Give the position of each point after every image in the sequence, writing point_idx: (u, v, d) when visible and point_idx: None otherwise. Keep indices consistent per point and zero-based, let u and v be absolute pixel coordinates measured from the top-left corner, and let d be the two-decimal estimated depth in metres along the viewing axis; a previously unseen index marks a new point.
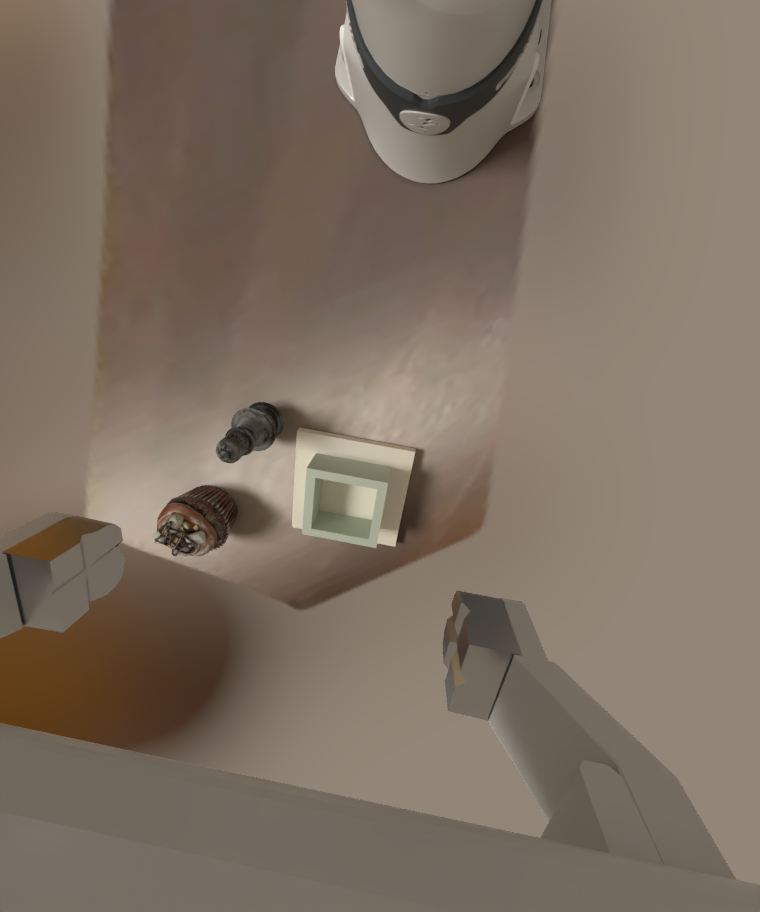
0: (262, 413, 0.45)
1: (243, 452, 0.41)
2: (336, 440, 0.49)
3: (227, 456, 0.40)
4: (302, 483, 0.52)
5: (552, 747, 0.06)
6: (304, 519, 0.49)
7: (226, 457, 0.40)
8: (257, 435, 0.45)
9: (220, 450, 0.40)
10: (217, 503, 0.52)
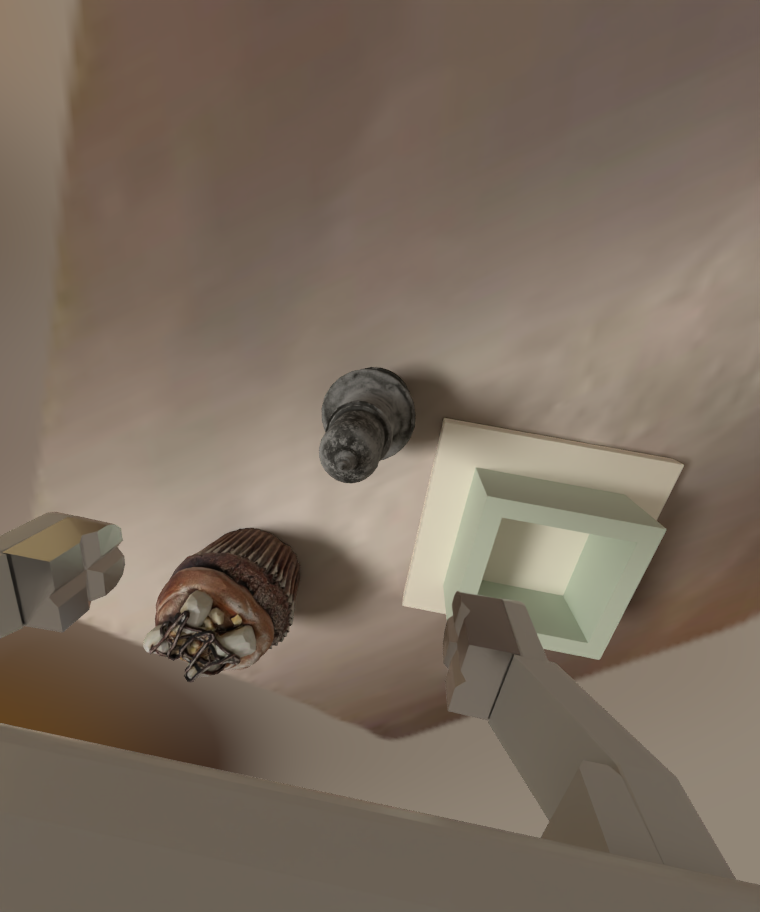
0: (393, 380, 0.22)
1: None
2: (522, 441, 0.25)
3: (354, 465, 0.15)
4: (436, 527, 0.27)
5: (552, 747, 0.06)
6: None
7: None
8: None
9: (335, 449, 0.16)
10: (273, 564, 0.27)
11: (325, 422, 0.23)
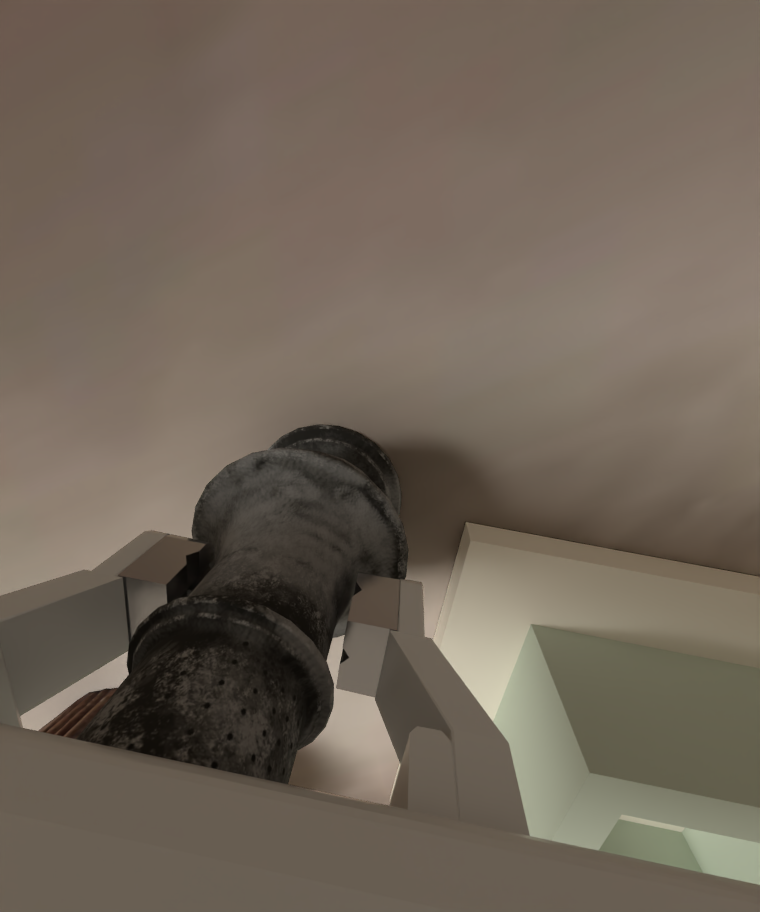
0: (354, 477, 0.09)
1: None
2: (633, 582, 0.12)
3: None
4: None
5: (413, 718, 0.06)
6: None
7: None
8: (336, 608, 0.08)
9: None
10: None
11: None
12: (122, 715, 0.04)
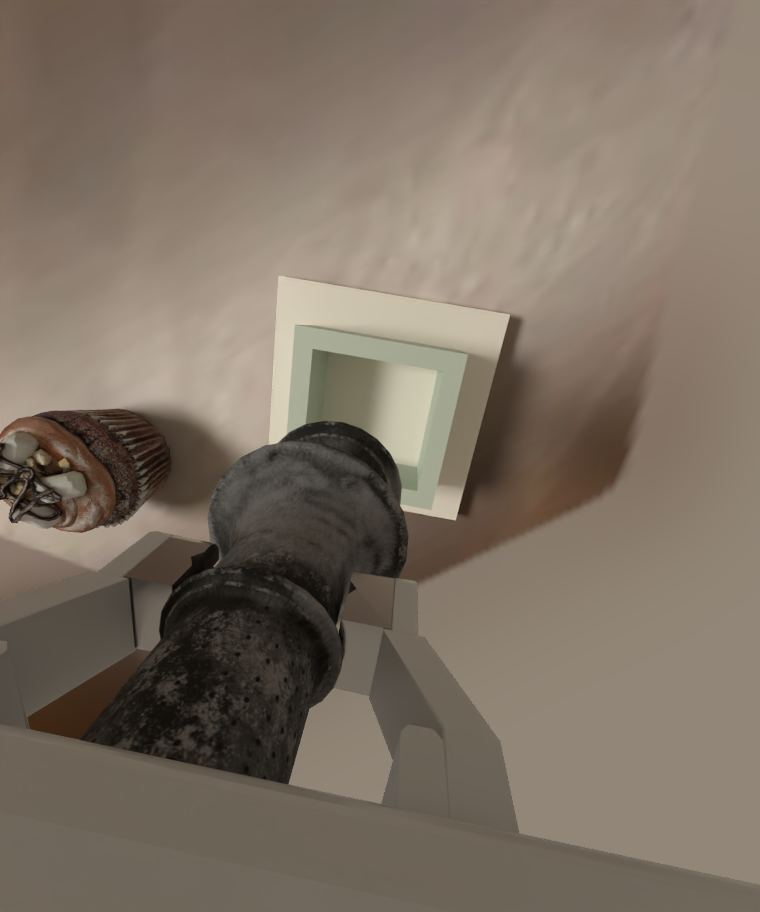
0: (359, 468, 0.10)
1: None
2: (355, 294, 0.25)
3: None
4: (286, 394, 0.28)
5: (406, 717, 0.06)
6: None
7: None
8: (343, 585, 0.08)
9: None
10: (124, 431, 0.28)
11: None
12: (166, 661, 0.05)
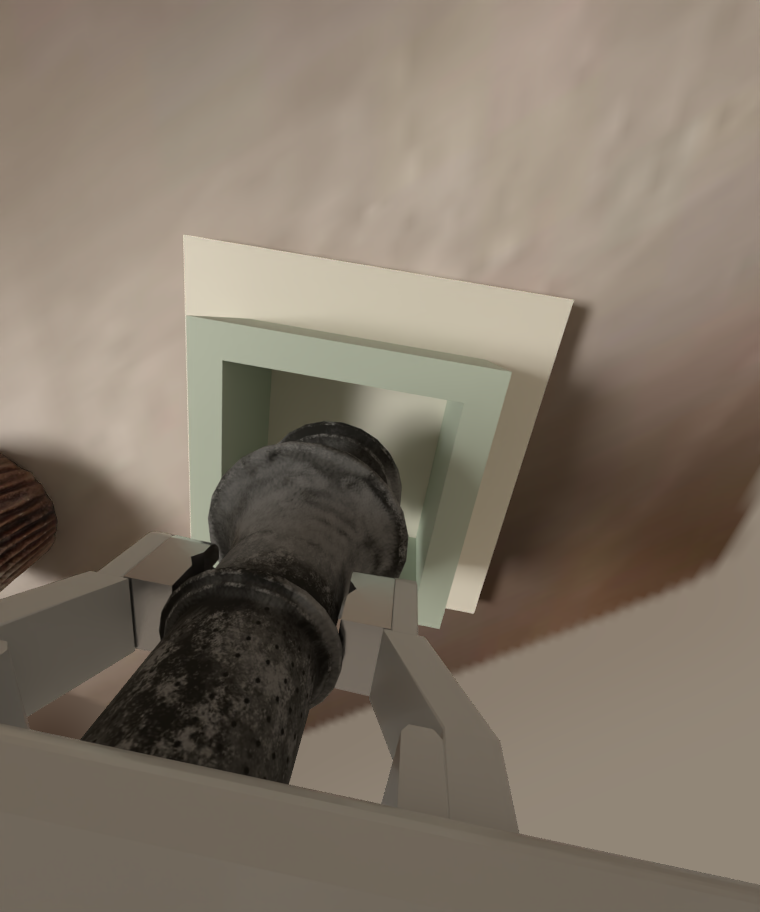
0: (359, 468, 0.10)
1: None
2: (311, 267, 0.15)
3: None
4: None
5: (406, 717, 0.06)
6: (196, 529, 0.14)
7: None
8: (343, 586, 0.08)
9: None
10: None
11: None
12: (166, 662, 0.05)
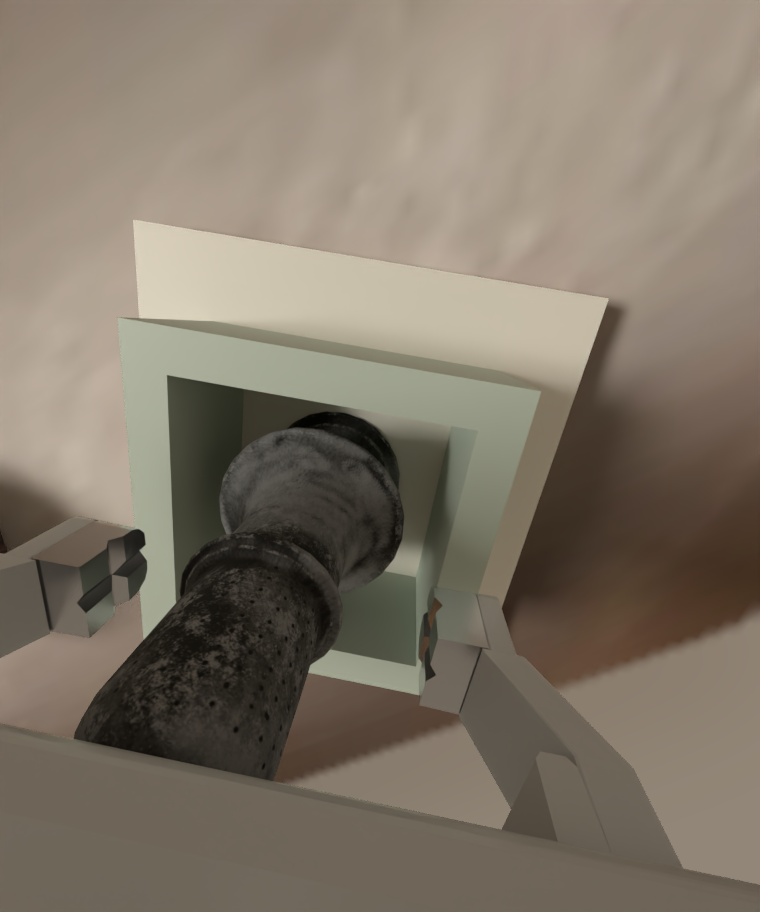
0: (358, 452, 0.10)
1: None
2: (288, 258, 0.12)
3: None
4: None
5: (516, 740, 0.06)
6: (144, 581, 0.12)
7: None
8: (344, 557, 0.09)
9: None
10: None
11: (227, 526, 0.12)
12: (192, 606, 0.06)
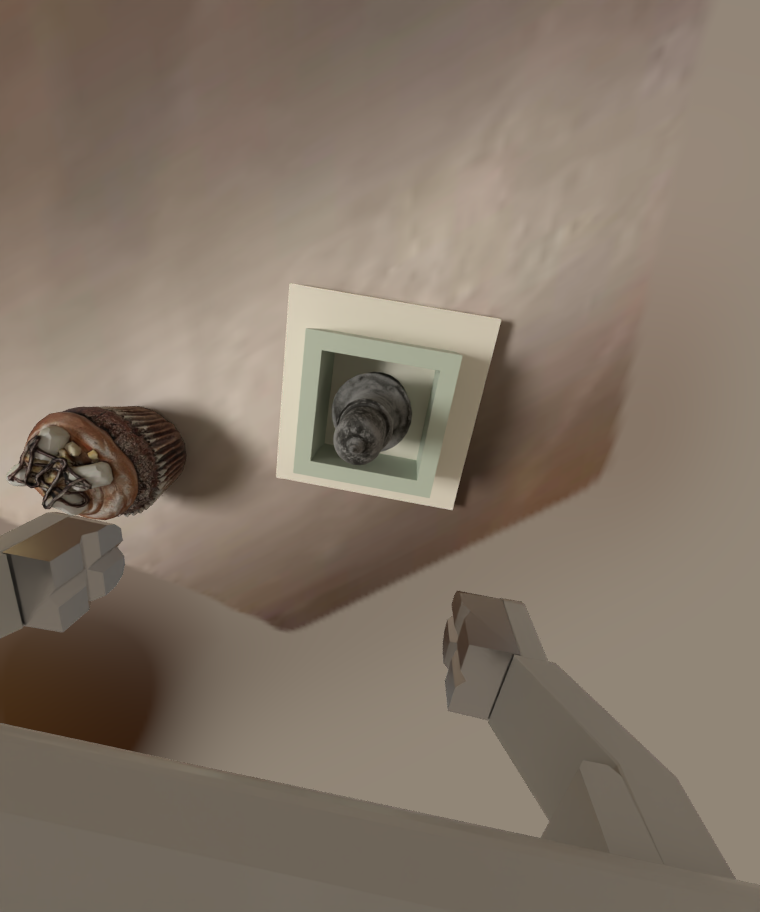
0: (393, 382, 0.25)
1: None
2: (359, 300, 0.27)
3: (362, 449, 0.19)
4: (295, 392, 0.30)
5: (552, 747, 0.06)
6: (298, 442, 0.27)
7: (359, 451, 0.19)
8: None
9: (347, 436, 0.19)
10: None
11: (334, 418, 0.27)
12: (354, 411, 0.21)
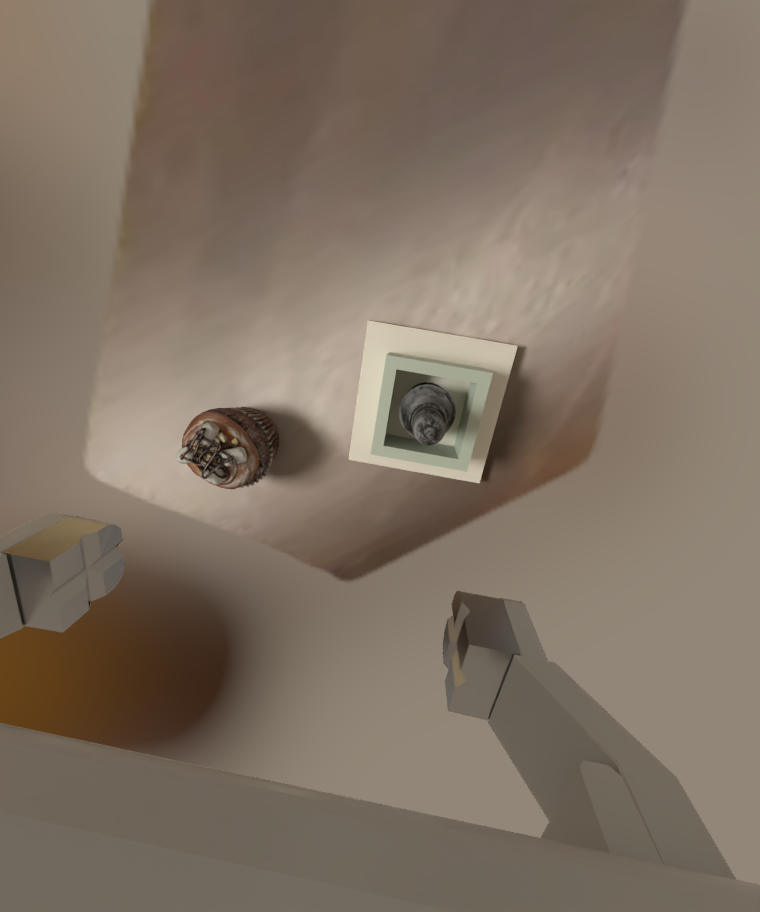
0: (443, 391, 0.37)
1: None
2: (417, 332, 0.39)
3: (434, 434, 0.31)
4: (367, 397, 0.41)
5: (552, 747, 0.06)
6: (375, 432, 0.38)
7: None
8: None
9: (424, 427, 0.31)
10: (259, 422, 0.41)
11: (401, 415, 0.38)
12: (425, 410, 0.32)
